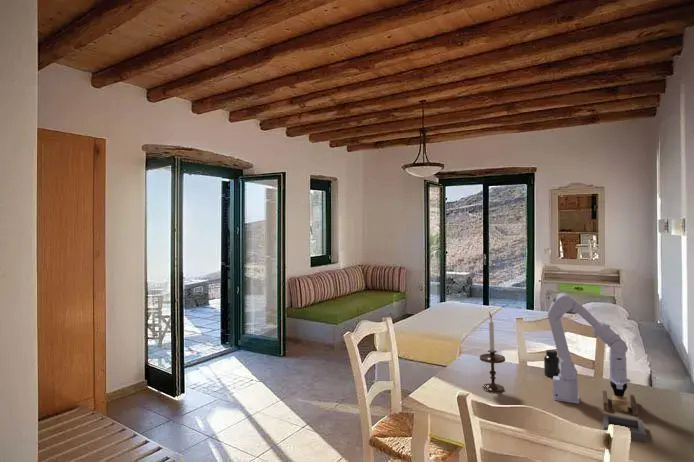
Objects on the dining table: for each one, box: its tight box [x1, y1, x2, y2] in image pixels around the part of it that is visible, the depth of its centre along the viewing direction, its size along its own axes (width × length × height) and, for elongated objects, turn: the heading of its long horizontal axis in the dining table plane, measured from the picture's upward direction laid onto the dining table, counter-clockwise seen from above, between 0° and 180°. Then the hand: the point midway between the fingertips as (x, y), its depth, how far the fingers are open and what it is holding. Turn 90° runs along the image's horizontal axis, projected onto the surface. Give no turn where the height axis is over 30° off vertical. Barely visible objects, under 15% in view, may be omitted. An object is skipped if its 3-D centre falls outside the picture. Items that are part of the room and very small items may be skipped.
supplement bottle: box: [543, 349, 560, 378], centre depth 203 cm, size 7×7×12 cm
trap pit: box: [602, 413, 648, 443], centre depth 147 cm, size 12×12×2 cm
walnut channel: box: [602, 390, 639, 417], centre depth 167 cm, size 11×14×3 cm
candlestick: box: [479, 311, 506, 393], centre depth 188 cm, size 11×11×35 cm
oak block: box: [611, 394, 629, 413], centre depth 165 cm, size 5×5×4 cm
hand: (619, 401), depth 168 cm, fingers closed
